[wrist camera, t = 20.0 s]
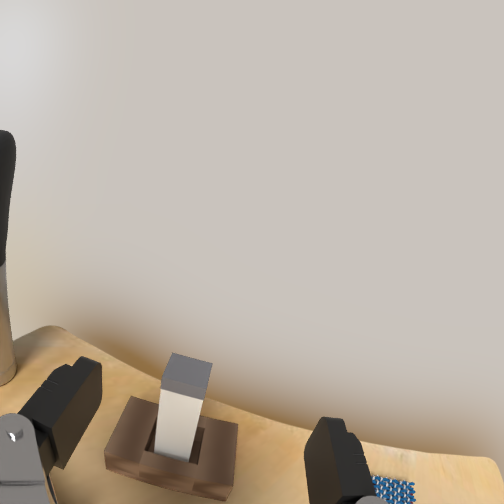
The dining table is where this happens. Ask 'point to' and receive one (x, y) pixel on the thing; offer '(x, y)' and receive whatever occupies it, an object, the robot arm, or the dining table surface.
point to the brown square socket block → (167, 469)
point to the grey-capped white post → (180, 405)
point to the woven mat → (393, 490)
